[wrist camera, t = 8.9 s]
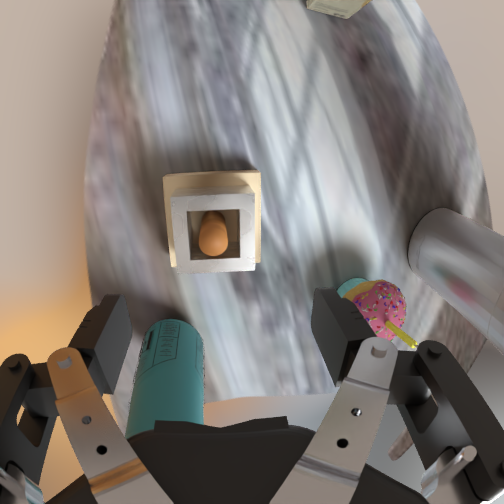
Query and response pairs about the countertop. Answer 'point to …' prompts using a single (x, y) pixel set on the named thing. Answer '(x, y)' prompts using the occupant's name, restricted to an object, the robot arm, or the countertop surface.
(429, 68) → the countertop surface
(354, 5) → the skincare box
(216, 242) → the keeper
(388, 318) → the cupcake
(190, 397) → the beverage bottle
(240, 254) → the link
